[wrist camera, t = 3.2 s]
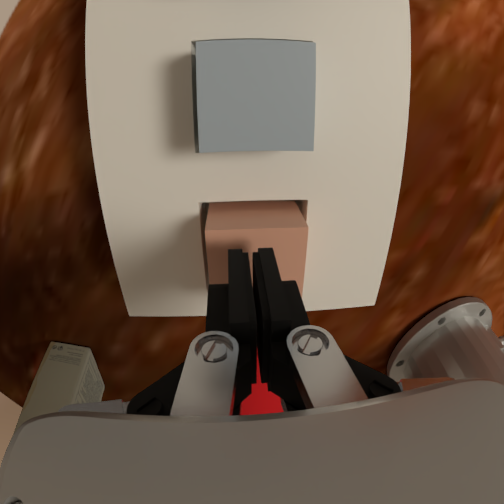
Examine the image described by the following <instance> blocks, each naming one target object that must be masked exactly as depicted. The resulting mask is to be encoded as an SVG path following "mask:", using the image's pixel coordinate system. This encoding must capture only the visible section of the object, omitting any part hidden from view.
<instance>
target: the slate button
mask: <svg viewBox="0 0 504 504" xmlns="http://www.w3.org/2000/svg"><path fill="white" fill-rule="evenodd" d="M196 85H197V114H198V137H199V153H207V152H230V151H314V128H315V93H316V43H314V42H302V41H288V40H261V39H239V40H212V41H197V42H196Z"/></svg>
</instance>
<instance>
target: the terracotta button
mask: <svg viewBox="0 0 504 504" xmlns="http://www.w3.org/2000/svg"><path fill="white" fill-rule="evenodd" d="M308 229H309V227H308V225H307V223H306V221H305V219H304V217H303V215H302V214H301V212H300V210H299V208H298V206H297V204H296V202H295V200H286V201H242V202H215V203H209V209H208V214H207V220H206V226H205V240H206V252H207V263H208V273H209V283H210V284H228V249H242V251H243V252H248V255H249V263H250V271H251V279H252V287H253V266H252V253H253V252H258V248H273V250H274V254H275V258H276V261H277V265H278V269H279V273H280V277H281V280H282V281H289V280H295V281H296V283H297V285H298V288H299V291H300V295H301V298H302V293H303V283H304V273H305V263H306V252H307V241H308Z"/></svg>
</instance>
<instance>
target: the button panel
mask: <svg viewBox="0 0 504 504" xmlns="http://www.w3.org/2000/svg"><path fill="white" fill-rule="evenodd" d="M239 39H261V40H288V41H302V42H314V43H316V93H315V128H314V151H230V152H207V153H199V137H198V114H197V85H196V42H197V41H212V40H239ZM85 64H86V88H87V103H88V115H89V126H90V135H91V144H92V151H93V159H94V166H95V172H96V178H97V185H98V190H99V196H100V201H101V207H102V212H103V217H104V221H105V226H106V231H107V235H108V240H109V244H110V248H111V252H112V256H113V260H114V264H115V268H116V272H117V276H118V279H119V283H120V286H121V290H122V293H123V297H124V300H125V304H126V307H127V310H128V313H129V316H206V315H207V298H208V285H209V284H210V283H209V273H208V263H207V252H206V240H205V226H206V220H207V214H208V209H209V203H215V202H242V201H286V200H295V202H296V204H297V206H298V208H299V210H300V212H301V214H302V215H303V217H304V219H305V221H306V223H307V225H308V227H309V229H308V241H307V252H306V263H305V273H304V283H303V293H302V301H303V304H304V307H305V310H306V311H314V310H327V309H339V308H350V307H361V306H371V305H375V301H376V298H377V294H378V290H379V286H380V282H381V278H382V274H383V270H384V266H385V262H386V258H387V253H388V249H389V244H390V239H391V235H392V230H393V225H394V219H395V214H396V209H397V203H398V197H399V191H400V184H401V178H402V170H403V163H404V155H405V146H406V137H407V126H408V114H409V98H410V74H411V33H410V10H409V0H87V3H86V26H85Z"/></svg>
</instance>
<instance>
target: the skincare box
mask: <svg viewBox="0 0 504 504" xmlns="http://www.w3.org/2000/svg"><path fill="white" fill-rule="evenodd" d="M104 387H105V386H104V383H103V380H102V378H101V375H100V372H99V370H98V367H97V365H96V362H95V359H94V357H93V354H92V352H91V349H90V348H88V347H81V346H75V345H70V344H64V343H58V342H50V344H49V347H48V349H47V351H46V353H45V355H44V358H43V360H42V362H41V364H40V367H39V369H38V371H37V374H36V376H35V378H34V381H33V383H32V385H31V388H30V390H29V393H28V395H27V398H26V401H25V403H24V406H23V409H22V412H21V414H20V417H19V420H18V423H17V425H16V428H15V431H14V433H15V432H16V430H17V429H18V428H19V427H20V426H21V425H22V424H23V423H24V422H25V421H27V420H29V419H31V418H33V417H36V416H39V415H43V414H48V413H53V412H58V411H59V409H61V408H62V407H64V406H66V405H70V404H82V403H93V402H101V399H102V395H103V391H104ZM13 435H14V434H13Z"/></svg>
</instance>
